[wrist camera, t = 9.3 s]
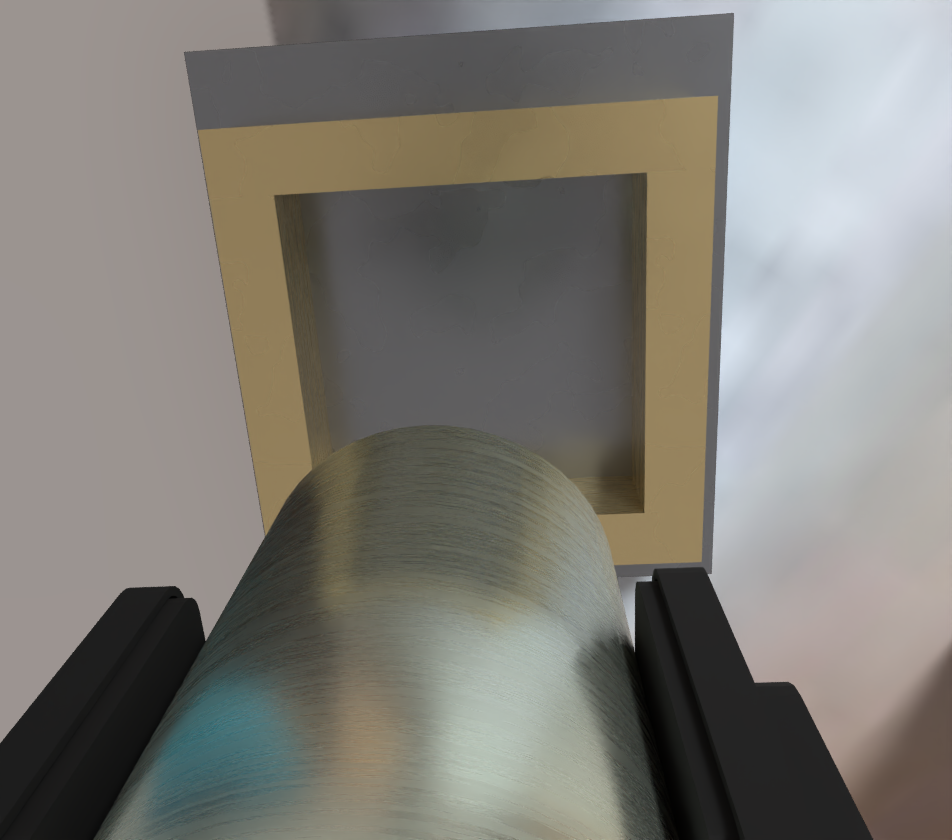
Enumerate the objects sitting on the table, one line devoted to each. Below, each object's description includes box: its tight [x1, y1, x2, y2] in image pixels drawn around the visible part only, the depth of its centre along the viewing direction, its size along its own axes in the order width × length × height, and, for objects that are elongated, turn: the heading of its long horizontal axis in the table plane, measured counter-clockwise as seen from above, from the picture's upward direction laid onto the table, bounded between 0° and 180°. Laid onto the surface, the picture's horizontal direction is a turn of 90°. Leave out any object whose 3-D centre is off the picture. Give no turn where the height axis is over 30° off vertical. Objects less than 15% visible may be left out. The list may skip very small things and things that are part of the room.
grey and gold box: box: [184, 13, 734, 577], centre depth 25 cm, size 18×14×6 cm
